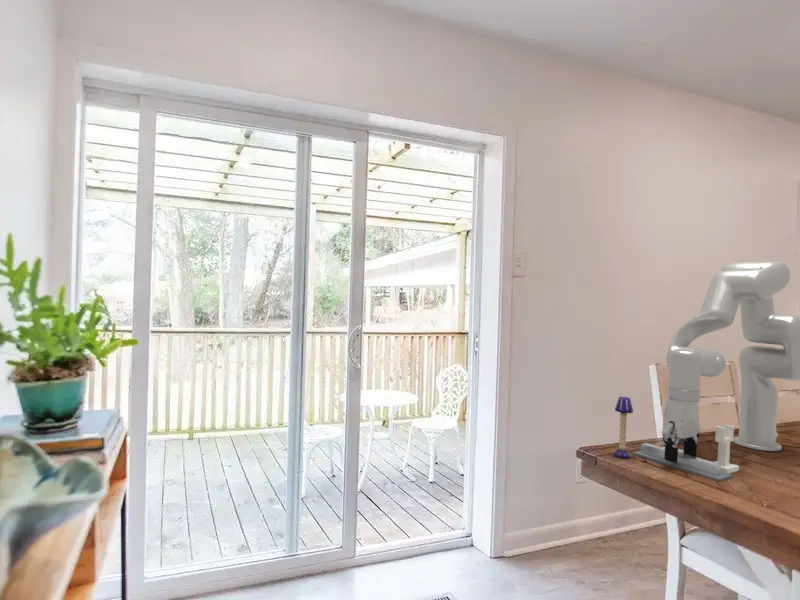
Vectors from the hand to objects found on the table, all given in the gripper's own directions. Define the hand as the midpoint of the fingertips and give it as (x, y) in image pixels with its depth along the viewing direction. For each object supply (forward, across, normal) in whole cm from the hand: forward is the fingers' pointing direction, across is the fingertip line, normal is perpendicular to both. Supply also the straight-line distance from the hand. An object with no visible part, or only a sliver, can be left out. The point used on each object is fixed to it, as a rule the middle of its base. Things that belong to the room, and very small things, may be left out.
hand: (680, 458), depth 135 cm
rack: (+2, -8, 0) cm, 8 cm away
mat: (+2, 0, 0) cm, 2 cm away
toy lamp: (+2, +8, -12) cm, 15 cm away
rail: (0, 0, 0) cm, 0 cm away
